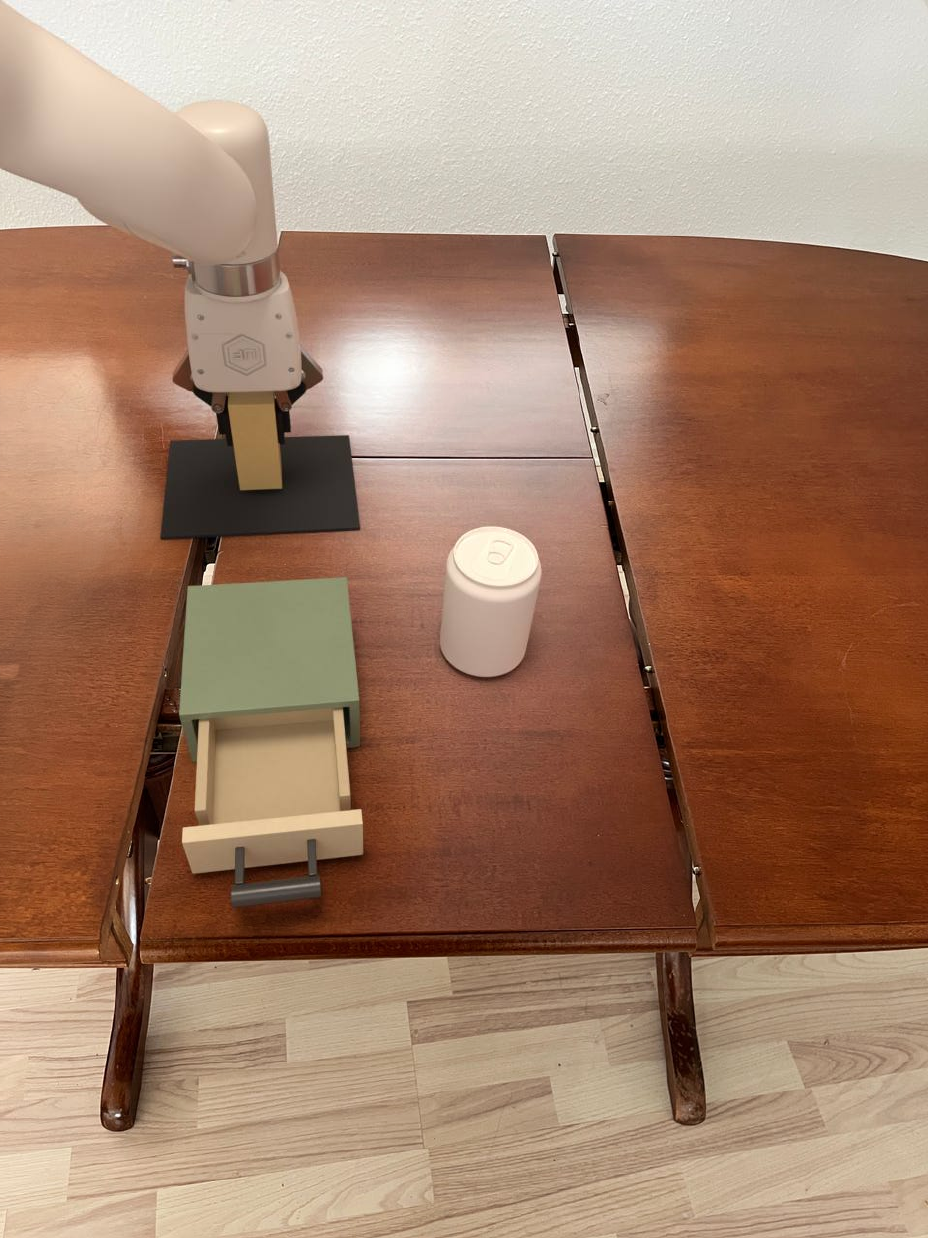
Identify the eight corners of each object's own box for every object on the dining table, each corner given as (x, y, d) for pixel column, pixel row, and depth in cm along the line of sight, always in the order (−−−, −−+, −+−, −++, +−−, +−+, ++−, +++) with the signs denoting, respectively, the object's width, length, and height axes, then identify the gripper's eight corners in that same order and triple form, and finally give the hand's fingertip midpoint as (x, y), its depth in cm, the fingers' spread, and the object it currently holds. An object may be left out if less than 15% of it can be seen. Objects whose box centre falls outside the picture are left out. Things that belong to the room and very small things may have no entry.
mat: (160, 539, 86) (160, 536, 86) (170, 443, 97) (170, 440, 96) (360, 530, 90) (360, 527, 89) (348, 437, 100) (348, 434, 100)
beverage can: (426, 664, 78) (433, 571, 69) (456, 605, 84) (467, 511, 75) (509, 692, 77) (527, 602, 68) (535, 630, 82) (555, 538, 73)
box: (239, 490, 91) (227, 405, 83) (240, 464, 93) (228, 379, 86) (282, 489, 91) (274, 404, 83) (281, 463, 94) (273, 378, 86)
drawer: (368, 909, 62) (368, 880, 58) (189, 931, 60) (178, 902, 56) (350, 719, 73) (349, 684, 69) (199, 732, 70) (190, 697, 67)
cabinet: (360, 747, 72) (359, 700, 67) (192, 762, 70) (178, 715, 65) (348, 625, 81) (346, 576, 76) (198, 635, 78) (187, 585, 74)
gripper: (130, 287, 71) (169, 463, 85) (335, 286, 74) (341, 457, 88) (138, 245, 76) (173, 418, 90) (330, 246, 79) (336, 413, 92)
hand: (256, 435), depth 88 cm, fingers closed on box, 4 cm apart
